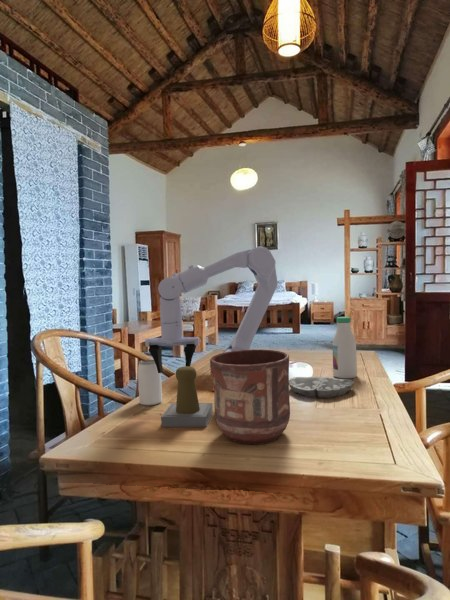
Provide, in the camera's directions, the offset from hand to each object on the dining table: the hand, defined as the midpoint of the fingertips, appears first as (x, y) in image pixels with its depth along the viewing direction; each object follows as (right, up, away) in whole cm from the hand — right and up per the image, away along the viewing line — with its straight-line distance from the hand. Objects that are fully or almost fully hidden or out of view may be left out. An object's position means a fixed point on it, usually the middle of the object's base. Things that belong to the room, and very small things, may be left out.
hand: (174, 372), depth 123 cm
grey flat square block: (+5, -11, -8) cm, 14 cm away
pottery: (+20, -11, -21) cm, 31 cm away
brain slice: (+42, -8, +12) cm, 44 cm away
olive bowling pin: (+4, -8, -9) cm, 13 cm away
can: (-8, -10, +9) cm, 16 cm away
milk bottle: (+54, -6, +29) cm, 62 cm away
